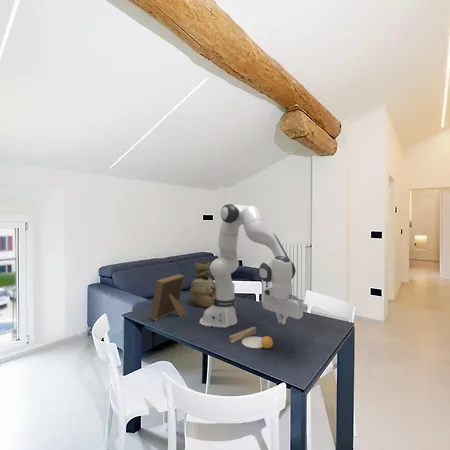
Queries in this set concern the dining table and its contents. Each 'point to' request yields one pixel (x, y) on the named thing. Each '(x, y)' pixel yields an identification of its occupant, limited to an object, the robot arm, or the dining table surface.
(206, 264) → the ceramic vessel
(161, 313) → the photo frame
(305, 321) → the dining table surface
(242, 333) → the bar
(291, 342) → the dining table surface
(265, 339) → the ball
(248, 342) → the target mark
